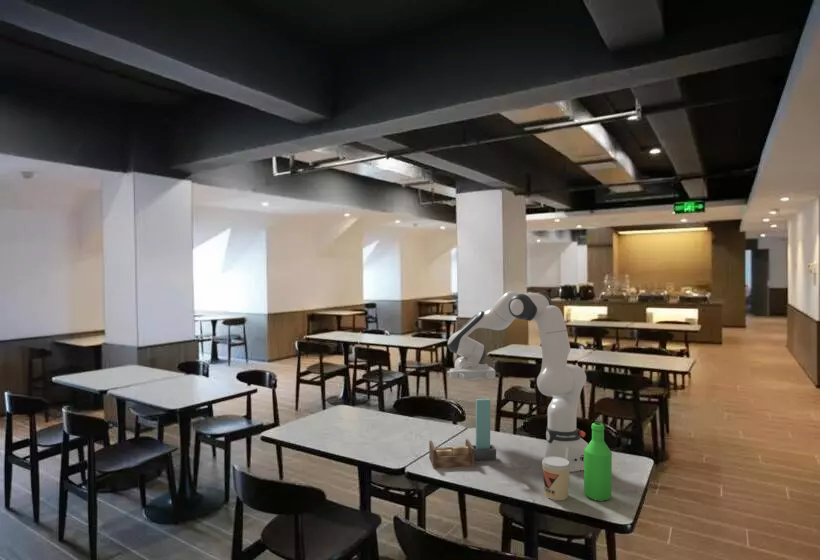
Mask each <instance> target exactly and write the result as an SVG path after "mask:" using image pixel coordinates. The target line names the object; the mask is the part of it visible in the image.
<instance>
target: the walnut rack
mask: <svg viewBox="0 0 820 560" xmlns="http://www.w3.org/2000/svg"><path fill="white" fill-rule="evenodd" d="M428 443H429V444H428V445H429V448H428V449H429V453H428V455H429V461H430V463H431V466H432V469H433V470H434V469H451V468H452V469H455V468H474V467H475V462H474V448H473V446H472V445H473V444H472V443H471V441H470V440H469V439H468V438H467V439H465V446H468V455H453V447H454V446H446V447H445V446H444V447H443V446H442V447H436V446H435V445H434V442H433V440H429V442H428ZM447 449H451V450H452V455H449V456H436V450H447Z"/></svg>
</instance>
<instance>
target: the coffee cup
mask: <svg viewBox="0 0 820 560" xmlns="http://www.w3.org/2000/svg"><path fill="white" fill-rule="evenodd" d="M541 464H542V479H543V480H542V481H543V482H542V483H543V492H544V497H546V498H547V497H548V498H547V499H549V498H550V499H549V500H551V499H553V500H552V501H556V500H563V501H565V500H564V499H566V498H567V499H568V498H569V497H568V496H569V487H570V473H571V472H570V463H569V461H568V460H566V459H564V458H561V457H555V456H550V457H545V458H544V457H543V459H542V461H541ZM567 499H566V500H567Z"/></svg>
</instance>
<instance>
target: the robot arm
mask: <svg viewBox="0 0 820 560" xmlns="http://www.w3.org/2000/svg"><path fill="white" fill-rule="evenodd" d="M515 319H517V320H522V321H528V322H530V321H534V322H536V323H535V324H536V325H537V327H538V333H539V334H538V335H539V340H540V346H541V351H542V353H541V354H542V357H541V358H542V360H541V366H540V367H541V368H540V372H539V373H538V376H537V377H536V386H537V389H538V391H539V392H540V393H541V394H542V395H544V396H546V397H552V399H551V401H550V403H549V404H548V407H547V426H546V432H545V438H546V449H545V454H544V457H543V459H544V458H545V457H550V456H555V457H561V458H564V459H566V460H568V461H569V463H570V473H573V472H580V470H581V471H584V449H585V448H586V446H587V445H588V444H589V442H587V441H586V440H584V439H583V438H585V437H586V432H585V431H584V430H580V429H579V428H577V410H578V405H579V400H580V396H581V393H582V390H583V388H584V386H585V385H586V382H587V375H586V371H585V370H584V368H582V367H581V366H579V365H577V364H576V365H575V364H568V356H569V354H570V352H571V345H570V339H569V335H568V328H567V324H566V321H565V318H564V315H563V312H562V310H561V308H559V307H558V306H557V305H553V301H552V299H551V297H549V296H548V295H547V294H544V293H534V292H533V293H532V292H526V293H518V292H516V291H513V290H509V291H507V292H505V293H504V294H503V295H502V296H500V297H499V299H497V300H496V301H495V303H494V304H493V306H491V307H490V308H488V309H487V310H484V311H479V312H477V313H476V314H474V315H473V316H472V317H471V318H470V319H468V320H467V322H465V323H464V324H463V325H462V326H461V327H460V328H459V329H458V330H456V331H455V332H453V333H452V334H451V335H450V336H449V338H448V339H447V348H448V350H449V351H450V353H453V354H456V355H458V356H460V357H458V358H456V359H455V361H454V368H452V367H451V368H449V370H447V372H446V373H447V374H448V375H449V378H450V379H451V380H464V381H466V382H472V381H476V380H480V379H481V380H482V379H484V380H488V379H495V378H496V370H495V369H494V368H493V367H492V366H489V364H488V363H483V362H484V360H485V358H486V356H487V351H486V346H485V345H484V344H483V343H480V342H479V341H477V340H475V339H474V338H471V337H469V335H470V334H472V332H474V331H475V330H476V329H489V330H493V331H502V330H505V329H508V327H509V326H510V325H511V324H512V323H513V322H514V320H515Z"/></svg>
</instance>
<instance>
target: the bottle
mask: <svg viewBox="0 0 820 560" xmlns="http://www.w3.org/2000/svg"><path fill="white" fill-rule="evenodd" d="M604 430H605V425H604V423H602V422H593V423H592V424H591V440H590V441H589V442H588V445H587V446H586V448H585V449H584V470H583V494H584V495H586V496H587V497H588V498H589V497H590V498H592V499H591V500H593V499H596V500H606V501H608V500H609V499H611V498H612V487H613V486H612V485H613V484H612V481H613V479H612V475H613V473H612V471H613V469H612V468H613V467H612V466H613V464H612V463H613V462H612V460H613V458H612V455H613V454H612V451H611V450H610V448H609V446H608V444H606V442H605V431H604ZM590 498H589V499H590ZM596 500H595V501H596Z"/></svg>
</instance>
